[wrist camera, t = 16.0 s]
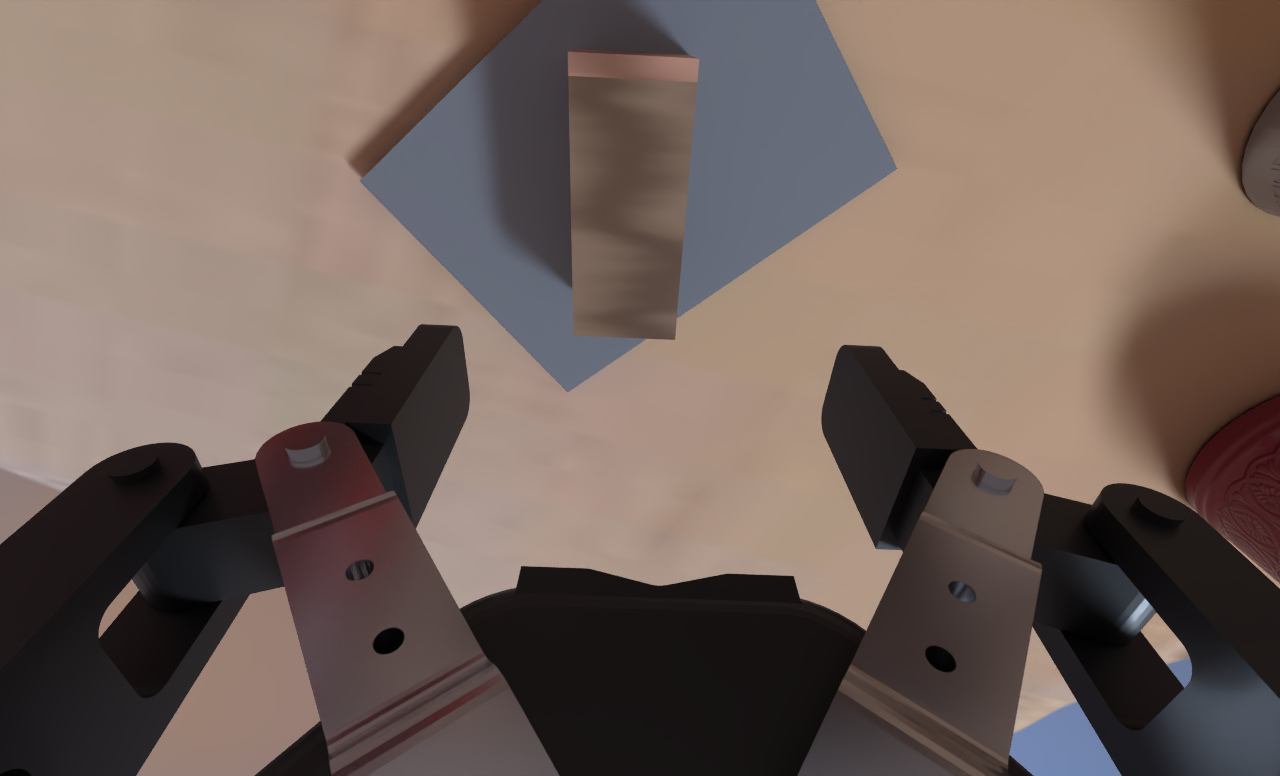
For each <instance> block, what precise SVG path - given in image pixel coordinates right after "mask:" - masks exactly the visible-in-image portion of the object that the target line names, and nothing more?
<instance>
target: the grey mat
mask: <svg viewBox="0 0 1280 776" xmlns="http://www.w3.org/2000/svg"><path fill="white" fill-rule="evenodd" d="M578 49H586V50H605V51H623V52H642V53H661V54H680V55H691V56H693V57H696V58H699V69H698V81H697V92H696V103H695V115H694V126H693V138H692V149H691V160H690V172H689V183H688V194H687V206H686V217H685V228H684V240H683V251H682V263H681V274H680V285H679V297H678V308H677V318H678V317H679V316H681V315H682V314H684V313H685V312H687V311H688V310H690V309H691V308H693V307H694V306H696V305H697V304H699V303H700V302H702V301H703V300H704V299H706V298H707V297H709V296H710V295H712V294H713V293H715V292H716V291H718V290H719V289H721V288H722V287H724V286H725V285H727V284H728V283H730V282H731V281H732V280H734V279H735V278H737V277H738V276H740V275H741V274H743V273H744V272H746V271H747V270H749V269H750V268H752V267H753V266H755V265H756V264H758V263H759V262H760V261H762V260H763V259H765V258H766V257H768V256H769V255H771V254H772V253H774V252H775V251H777V250H778V249H780V248H781V247H783V246H784V245H786V244H787V243H788V242H790V241H791V240H793V239H794V238H796V237H797V236H799V235H800V234H802V233H803V232H805V231H806V230H808V229H809V228H811V227H812V226H814V225H815V224H817V223H818V222H819V221H821V220H822V219H824V218H825V217H827V216H828V215H830V214H831V213H833V212H834V211H836V210H837V209H839V208H840V207H842V206H843V205H845V204H846V203H847V202H849V201H850V200H852V199H853V198H855V197H856V196H858V195H859V194H861V193H862V192H864V191H865V190H867V189H868V188H870V187H871V186H873V185H874V184H875V183H877V182H878V181H880V180H881V179H883V178H884V177H886V176H887V175H889V174H890V173H892V172H893V171H895V170H896V169H897V167H896V165H895V163H894V161H893V159H892V157H891V155H890V153H889V151H888V149H887V147H886V145H885V143H884V141H883V138H882V136H881V134H880V132H879V130H878V128H877V126H876V124H875V122H874V120H873V118H872V116H871V114H870V112H869V110H868V108H867V106H866V104H865V102H864V99H863V97H862V95H861V93H860V91H859V89H858V87H857V85H856V83H855V81H854V79H853V77H852V75H851V73H850V71H849V69H848V67H847V65H846V63H845V60H844V58H843V56H842V54H841V52H840V50H839V48H838V46H837V44H836V42H835V40H834V38H833V36H832V34H831V32H830V30H829V28H828V26H827V24H826V21H825V19H824V17H823V15H822V13H821V11H820V9H819V7H818V5H817V3H816V1H815V0H542V1H541V2H540V3H539V4H538V5H537V6H536V7H535V8H534V9H533V10H532V11H531V12H530V13H529V14H528V15H527V16H526V17H525V18H524V19H523V20H521V21H520V22H519V23H518V24H517V25H516V26H515V27H514V28H513V29H512V30H511V31H510V32H509V33H508V34H507V35H506V36H505V37H504V38H503V39H502V40H501V41H500V42H499V43H498V44H497V45H496V46H495V47H494V48H493V49H492V50H491V51H490V52H489V53H488V54H487V55H486V56H485V57H484V58H483V59H482V60H481V61H480V62H479V63H478V64H477V65H476V66H475V67H474V68H473V69H472V70H471V71H470V72H469V73H468V74H467V75H466V76H465V77H464V78H463V79H462V80H461V81H460V82H459V83H458V84H457V85H456V86H455V87H454V88H453V89H452V90H451V91H450V92H449V93H448V94H447V95H446V96H445V97H444V98H443V99H442V100H441V101H440V102H439V103H438V104H437V105H436V106H435V107H434V108H433V109H432V110H431V111H430V112H429V113H428V114H427V115H426V116H425V117H424V118H423V119H422V120H421V121H420V122H419V123H418V124H417V125H416V126H415V127H414V128H413V129H412V130H411V131H410V132H409V133H408V134H407V135H406V136H405V137H404V138H403V139H402V140H401V141H400V142H399V143H398V144H397V145H396V146H395V147H393V148H392V149H391V150H390V151H389V152H388V153H387V154H386V155H385V156H384V157H383V158H382V159H381V160H380V161H379V162H378V163H377V164H376V165H375V166H374V167H373V168H372V169H371V170H370V171H369V172H368V173H367V174H366V175H365V176H364V177H363V178H362V179H361V180H360V182H361V183H362V184H363V185H364V186H365V187H366V188H367V189H368V190H369V191H370V192H371V193H372V194H373V195H374V196H375V197H376V198H377V199H378V200H379V201H380V202H381V203H382V204H383V205H384V206H385V207H386V208H387V209H388V210H389V211H390V212H391V213H392V214H393V215H394V216H395V217H396V219H397V220H398V221H399V222H400V223H401V224H402V225H403V226H404V227H405V228H406V229H407V230H408V231H409V232H410V233H411V234H412V235H413V236H414V237H415V238H416V239H417V240H418V241H419V242H420V243H421V244H422V245H423V246H424V247H425V248H426V249H427V250H428V251H429V252H430V253H431V254H432V255H433V256H434V257H435V258H436V259H437V260H438V261H439V262H440V263H441V264H442V265H443V266H444V267H445V268H446V269H447V270H448V271H449V272H450V273H451V274H452V275H453V276H454V277H455V278H456V279H457V280H458V281H459V282H460V283H461V284H462V285H463V286H464V288H465V289H466V290H467V291H468V292H469V293H470V294H471V295H472V296H473V297H474V298H475V299H476V300H477V301H478V302H479V303H480V304H481V305H482V306H483V307H484V308H485V309H486V310H487V311H488V312H489V313H490V314H491V315H492V316H493V317H494V318H495V319H496V320H497V321H498V322H499V323H500V324H501V325H502V326H503V327H504V328H505V329H506V330H507V331H508V332H509V333H510V334H511V335H512V336H513V337H514V338H515V339H516V340H517V341H518V342H519V343H520V344H521V345H522V346H523V347H524V348H525V349H526V350H527V351H528V352H529V353H530V354H531V355H532V357H533V358H534V359H535V360H536V361H537V362H538V363H539V364H540V365H541V366H542V367H543V368H544V369H545V370H546V371H547V372H548V373H549V374H550V375H551V376H552V377H553V378H554V379H555V380H556V381H557V382H558V383H559V384H560V385H561V386H562V387H563V388H564V389H565V390H566V391H567V392H569V391H570V390H572V389H573V388H575V387H576V386H578V385H579V384H581V383H582V382H584V381H585V380H587V379H588V378H589V377H591V376H592V375H594V374H595V373H597V372H598V371H600V370H601V369H603V368H604V367H606V366H607V365H609V364H610V363H612V362H613V361H615V360H616V359H617V358H619V357H620V356H622V355H623V354H625V353H626V352H628V351H629V350H631V349H632V348H634V347H635V346H637V345H638V344H640V343H641V342H643V341H644V340H645V339H644V338H618V337H592V336H573V290H572V239H571V189H570V138H569V87H568V51H573V50H578Z"/></svg>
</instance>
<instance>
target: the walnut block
mask: <svg viewBox="0 0 1280 776" xmlns="http://www.w3.org/2000/svg"><path fill="white" fill-rule="evenodd" d="M698 69H699V58H696V57H693V56H691V55H680V54H661V53H642V52H623V51H605V50H586V49H578V50H573V51H568V87H569V138H570V189H571V239H572V290H573V336H592V337H618V338H644V339H670V340H675V331H676V319H677V308H678V297H679V285H680V274H681V263H682V251H683V240H684V228H685V217H686V206H687V194H688V183H689V172H690V160H691V149H692V138H693V126H694V115H695V103H696V92H697V81H698Z"/></svg>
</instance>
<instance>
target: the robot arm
mask: <svg viewBox="0 0 1280 776" xmlns="http://www.w3.org/2000/svg"><path fill="white" fill-rule="evenodd" d="M1242 182H1243V185H1244V188H1245V191H1246V194H1247V196H1248V197H1249V199H1250V200H1251V201H1252V202H1253V203H1254V205H1255V206H1256V207H1258V208H1260V209H1261V210H1263V211H1265V212H1267V213H1268V214H1272V215H1275V216H1279V217H1280V90H1279V92H1278V93H1277V94H1276V95H1275V96H1274V98H1273V99H1272V100H1271V101H1270V103H1269V104H1268V105H1267V107H1266V109H1265V110H1264V112H1263V113H1262V115H1261V117H1260V118H1259V120H1258V122H1257V123H1256V125H1255V127H1254V129H1253V132H1252V134H1251V136H1250V139H1249V141H1248V143H1247V146H1246V150H1245V154H1244V159H1243V164H1242ZM469 402H470V391H469V383H468V375H467V368H466V360H465V352H464V345H463V338H462V333H461V330H460V328H459V327H458V326H448V325H426V324H421V325H419V326H418V327H417V329H416V330H415V331H414V333H413V334H412V335H411V336H410V338H409V339H408V340H407V342H406V343H405V344H404V346H393V347H392V348H390V349H388V350H386V351H385V352H383V353H381V354H379V355H378V356H376V357H374V358H373V359H372V360H371V362H370V363H369V364H368V365H367V366H366V368H365V369H364V370H363V371H362V375H359V376H358V377H357V378H356V380H355V381H354V382H353V383H352V387H349V388H348V389H347V390H346V392H345V393H344V394H343V395H342V396H341V397H340V399H339V400H338V401H337V402H336V403H335V405H334V406H333V407H332V408H331V409H330V411H329V412H328V413H327V414H326V415H325V417H324V418H323V419H322V420H321V421H320V422H313V423H306V424H302V425H298V426H295V427H292V428H289V429H287V430H285V431H282V432H281V433H279V434H277V435H275V436H274V437H272V438H271V439H269V440H268V441H267V442H265V443H264V444H263V445H262V447H261V448H260V449H259V451H258V452H257V454H256V458H255V459H254V460H248V461H242V462H236V463H229V464H223V465H216V466H210V467H204V468H202V467H201V465H200V463H199V461H198V459H197V456H196V454H195V452H194V451H193V450H192V449H191V448H190V447H188V446H186V445H183V444H178V443H156V444H149V445H144V446H140V447H136V448H132V449H129V450H126V451H123V452H120V453H118V454H116V455H113V456H111V457H109V458H107V459H105V460H103V461H101V462H100V463H98V464H96V465H95V466H93V467H92V468H90V469H89V470H88V471H86V472H85V473H84V474H83V475H82V476H80V477H79V478H78V479H77V480H76V481H75V482H73V483H72V484H71V485H70V486H69V487H67V488H66V489H65V490H64V491H63V492H62V493H60V494H59V495H58V496H57V497H56V498H55V499H53V500H52V501H51V502H50V503H49V504H48V505H46V506H45V507H44V508H43V509H42V510H40V511H39V512H38V513H37V514H36V515H35V516H33V517H32V518H31V519H30V520H29V521H28V522H26V523H25V524H24V525H23V526H22V527H20V528H19V529H18V530H17V531H16V532H15V533H14V534H12V535H11V536H10V537H9V538H7V539H6V540H5V541H4V542H3V543H2V544H1V545H0V776H136V775H137V773H138V772H139V770H140V769H141V767H142V765H143V764H144V762H145V761H146V759H147V757H148V756H149V754H150V753H151V751H152V749H153V748H154V746H155V745H156V743H157V741H158V740H159V738H160V737H161V735H162V733H163V732H164V730H165V729H166V727H167V725H168V724H169V722H170V721H171V719H172V718H173V716H174V714H175V713H176V711H177V709H178V708H179V706H180V705H181V703H182V701H183V700H184V698H185V697H186V695H187V694H188V692H189V690H190V689H191V687H192V686H193V684H194V682H195V681H196V679H197V677H198V676H199V674H200V673H201V671H202V670H203V668H204V666H205V665H206V663H207V662H208V660H209V658H210V657H211V655H212V654H213V652H214V651H215V649H216V647H217V645H218V644H219V643H220V641H221V639H222V638H223V636H224V635H225V633H226V631H227V630H228V628H229V627H230V625H231V623H232V622H233V620H234V619H235V617H236V616H237V614H238V612H239V611H240V609H241V607H242V606H243V604H244V603H245V601H246V600H247V598H248V596H249V595H250V594H252V593H257V592H261V591H266V590H270V589H274V588H279V587H284V586H285V590H286V593H287V597H288V601H289V605H290V608H291V612H292V616H293V619H294V623H295V627H296V631H297V635H298V638H299V642H300V646H301V649H302V653H303V657H304V660H305V664H306V668H307V672H308V675H309V679H310V682H311V686H312V690H313V694H314V697H315V701H316V705H317V709H318V713H319V716H320V720H321V721H320V722H318V723H317V724H316V725H315V726H314V727H312V728H311V729H310V730H309V731H308V732H306V733H305V734H304V735H303V736H302V737H300V738H299V739H298V740H297V741H296V742H295V743H293V744H292V745H291V746H290V747H288V748H287V749H286V750H285V751H284V752H282V753H281V754H280V755H279V756H278V757H276V758H275V759H274V760H273V761H272V762H270V763H269V764H268V765H267V766H266V767H264V768H263V769H262V770H261V771H260V772H258V773H257V774H256V775H255V776H1033V775H1032V774H1031V773H1030V772H1028V771H1027V770H1026V769H1025V768H1024V767H1023V766H1022V765H1020V764H1019V763H1018V762H1017V761H1016V760H1015V759H1014V758H1012V757H1011V756H1010V755H1009V753H1010V747H1011V741H1012V736H1013V731H1014V725H1015V720H1016V714H1017V708H1018V703H1019V697H1020V692H1021V686H1022V680H1023V675H1024V669H1025V663H1026V658H1027V652H1028V647H1029V641H1030V635H1031V630H1032V626H1033V628H1034V630H1035V631H1036V633H1037V635H1038V636H1039V638H1040V640H1041V641H1042V643H1043V645H1044V646H1045V648H1046V650H1047V651H1048V653H1049V655H1050V656H1051V658H1052V660H1053V661H1054V663H1055V665H1056V666H1057V668H1058V670H1059V672H1060V673H1061V675H1062V677H1063V678H1064V680H1065V682H1066V683H1067V685H1068V687H1069V688H1070V690H1071V692H1072V693H1073V695H1074V697H1075V698H1076V700H1077V702H1078V703H1079V705H1080V707H1081V708H1082V710H1083V712H1084V713H1085V715H1086V717H1087V718H1088V720H1089V722H1090V723H1091V725H1092V727H1093V728H1094V730H1095V732H1096V733H1097V735H1098V737H1099V739H1100V740H1101V742H1102V743H1103V745H1104V747H1105V748H1106V750H1107V752H1108V754H1109V755H1110V757H1111V759H1112V760H1113V762H1114V764H1115V765H1116V767H1117V769H1118V770H1119V772H1120V773H1121V775H1122V776H1280V589H1279V588H1278V587H1277V586H1276V585H1275V584H1274V583H1273V582H1272V581H1271V580H1270V579H1269V578H1267V577H1266V576H1265V575H1264V574H1263V573H1262V572H1261V571H1260V570H1259V569H1258V568H1257V567H1256V566H1254V565H1253V564H1252V563H1251V562H1250V561H1249V560H1248V559H1247V558H1246V557H1245V556H1244V555H1242V554H1241V553H1240V552H1239V551H1238V550H1237V549H1236V548H1235V547H1234V546H1233V545H1232V544H1230V543H1229V542H1228V541H1227V540H1226V539H1225V538H1224V537H1223V536H1222V535H1221V534H1220V533H1219V532H1217V531H1216V530H1215V529H1214V528H1213V527H1212V526H1211V525H1210V524H1209V523H1208V522H1207V521H1205V520H1204V519H1203V518H1202V517H1201V516H1200V515H1199V514H1197V513H1196V512H1195V511H1193V510H1192V509H1190V508H1189V507H1187V506H1186V505H1184V504H1182V503H1181V502H1179V501H1177V500H1175V499H1173V498H1171V497H1169V496H1167V495H1165V494H1162V493H1160V492H1157V491H1155V490H1152V489H1149V488H1145V487H1142V486H1137V485H1133V484H1124V483H1117V484H1111V485H1108V486H1106V487H1104V488H1103V490H1102V491H1101V493H1100V494H1099V496H1098V497H1097V499H1096V500H1095V502H1094V503H1093V505H1090V504H1086V503H1082V502H1078V501H1074V500H1069V499H1065V498H1061V497H1057V496H1053V495H1049V494H1045V493H1044V489H1043V486H1042V484H1041V483H1040V481H1039V480H1038V479H1037V477H1036V476H1035V475H1034V474H1033V473H1031V472H1030V471H1029V470H1028V469H1026V468H1025V467H1024V466H1022V465H1020V464H1019V463H1017V462H1015V461H1013V460H1011V459H1009V458H1007V457H1005V456H1002V455H1000V454H997V453H994V452H990V451H985V450H979V449H977V448H976V447H975V446H974V444H973V443H972V442H971V441H970V439H969V438H968V437H967V436H966V435H965V433H964V432H963V431H962V430H961V428H960V427H959V426H958V425H957V423H956V422H955V421H954V420H953V419H952V417H951V416H950V415H949V414H946V410H945V409H944V408H943V406H942V405H941V404H940V403H939V402H936V398H935V396H934V395H933V394H932V393H931V392H930V390H929V389H928V388H927V387H926V385H925V384H924V383H922V382H921V381H919V380H918V379H916V378H915V377H913V376H912V375H910V374H909V373H907V372H906V371H904V370H899V369H898V368H897V367H896V365H895V364H894V363H893V361H892V360H891V359H890V358H889V356H888V355H887V354H886V352H885V351H884V350H883V349H882V348H881V347H878V346H857V345H843V346H842V347H841V348H840V349H839V351H838V353H837V356H836V360H835V363H834V367H833V371H832V374H831V378H830V382H829V385H828V389H827V393H826V396H825V400H824V404H823V408H822V419H821V420H822V430H823V434H824V436H825V439H826V441H827V443H828V445H829V447H830V449H831V452H832V454H833V456H834V458H835V460H836V463H837V465H838V467H839V469H840V471H841V473H842V476H843V478H844V480H845V482H846V484H847V487H848V489H849V491H850V493H851V495H852V498H853V500H854V502H855V504H856V506H857V508H858V511H859V513H860V515H861V517H862V519H863V522H864V524H865V526H866V528H867V530H868V532H869V535H870V537H871V539H872V541H873V543H874V546H875V548H876V549H890V550H902V551H903V554H902V556H901V558H900V560H899V563H898V565H897V567H896V569H895V571H894V573H893V575H892V577H891V580H890V582H889V584H888V586H887V588H886V590H885V592H884V594H883V597H882V599H881V601H880V603H879V605H878V607H877V609H876V611H875V614H874V616H873V618H872V620H871V622H870V624H869V626H868V628H867V631H865V630H864V629H863V628H861V627H860V626H858V625H857V624H856V623H854V622H852V621H851V620H849V619H847V618H846V617H844V616H842V615H841V614H839V613H837V612H834V611H832V610H830V609H828V608H826V607H824V606H821V605H818V604H816V603H813V602H810V601H807V600H803V599H800V597H799V594H798V590H797V587H796V583H795V580H794V576H776V575H748V574H723V575H718V576H713V577H707V578H702V579H697V580H692V581H686V582H681V583H676V584H670V585H664V586H655V585H650V584H646V583H642V582H639V581H635V580H631V579H627V578H623V577H619V576H615V575H611V574H607V573H604V572H600V571H596V570H592V569H583V568H555V567H528V566H521V570H520V575H519V579H518V583H517V588H514V589H509V590H505V591H501V592H498V593H494V594H491V595H488V596H486V597H483V598H481V599H478V600H476V601H474V602H472V603H470V604H468V605H466V606H464V607H462V608H460V609H459V607H458V606H457V604H456V602H455V600H454V598H453V596H452V595H451V593H450V591H449V589H448V587H447V586H446V584H445V582H444V580H443V578H442V576H441V575H440V573H439V571H438V569H437V567H436V565H435V564H434V562H433V560H432V558H431V556H430V555H429V553H428V551H427V549H426V547H425V545H424V544H423V542H422V540H421V538H420V536H419V534H418V533H417V531H416V527H417V525H418V523H419V521H420V519H421V516H422V514H423V512H424V510H425V508H426V505H427V503H428V501H429V499H430V497H431V495H432V492H433V490H434V488H435V486H436V484H437V482H438V479H439V477H440V475H441V473H442V471H443V468H444V466H445V464H446V462H447V460H448V458H449V455H450V453H451V451H452V449H453V447H454V444H455V442H456V440H457V438H458V436H459V434H460V431H461V429H462V427H463V425H464V423H465V420H466V418H467V415H468V410H469ZM131 579H132V580H133V581H134V583H135V584H136V586H137V588H138V589H139V591H138V592H137V594H136V595H135V596H134V597H133V599H132V600H131V601H130V602H129V603H128V604H127V606H126V607H125V608H124V609H123V611H122V612H121V613H120V614H119V615H118V617H117V618H116V619H115V620H114V621H113V622H112V624H111V625H110V626H109V627H108V629H107V630H106V631H105V632H104V633H103V635H102V636H101V637H100V638H99V637H98V632H99V625H100V622H101V619H102V617H103V615H104V613H105V611H106V609H107V608H108V606H109V605H110V604H111V602H112V601H113V600H114V599H115V598H116V596H117V595H118V594H119V593H120V592H121V591H122V590H123V588H124V587H125V586H126V585H127V584H128V583H129V582H130V580H131ZM1156 612H1157V613H1158V615H1159V616H1160V617H1161V618H1162V619H1163V621H1164V622H1165V623H1166V624H1167V625H1168V627H1169V628H1170V629H1171V630H1172V631H1173V633H1174V634H1175V635H1176V636H1177V638H1178V639H1179V640H1180V641H1181V642H1182V644H1183V645H1184V646H1185V648H1186V650H1187V652H1188V654H1189V656H1190V659H1191V663H1192V677H1191V680H1190V682H1189V684H1188V685H1187V686H1186V687H1185V688H1184V687H1183V686H1182V684H1181V683H1180V682H1179V680H1178V679H1177V678H1176V677H1175V675H1174V674H1173V673H1172V671H1171V670H1170V669H1169V668H1168V666H1167V665H1166V664H1165V662H1164V661H1163V660H1162V658H1161V657H1160V656H1159V655H1158V653H1157V652H1156V651H1155V649H1154V648H1153V647H1152V646H1151V644H1150V643H1149V642H1148V640H1147V639H1146V638H1145V637H1144V635H1143V634H1142V633H1141V629H1142V628H1143V627H1144V626H1145V625H1146V624H1147V622H1148V621H1149V620H1150V619H1151V618H1152V617H1153V615H1154V614H1155V613H1156Z"/></svg>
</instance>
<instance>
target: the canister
mask: <svg viewBox="0 0 1280 776" xmlns="http://www.w3.org/2000/svg"><path fill="white" fill-rule="evenodd" d="M1185 493H1186V497H1187V500H1188V502H1189V504H1190V505H1191V506H1192V507H1193V509H1194V510H1195V511H1196V512H1197V514H1199V515H1200V516H1201V517H1202V518H1203V519H1204V520H1205V521H1207V522H1208V523H1209V524H1210V525H1211V526H1212V527H1213V528H1214V529H1215V530H1216V531H1217V532H1219V533H1220V534H1221V535H1222V536H1223V537H1224V538H1225V539H1226V540H1228V541H1230V542H1231V543H1233V544H1234V545H1235V546H1236V547H1237V548H1238V549H1240V550H1241V551H1242V552H1243V553H1244V554H1246V555H1247V556H1248V557H1249V558H1250V559H1251V560H1253V561H1254V562H1255V563H1256V564H1257V565H1259V566H1260V567H1261V568H1262V569H1263V570H1264V571H1266V572H1267V573H1268V574H1269V575H1270V576H1271V577H1273V578H1274V579H1275V580H1276V581H1277V582H1279V583H1280V396H1278V397H1275V398H1273V399H1271V400H1269V401H1266V402H1264V403H1262V404H1260V405H1259V406H1257V407H1255V408H1253V409H1251V410H1249V411H1248V412H1246V413H1244V414H1243V415H1241V416H1240V417H1238V418H1237V419H1235V420H1234V421H1232V422H1231V423H1230V424H1228V425H1227V426H1226V427H1225V428H1223V429H1222V430H1221V431H1220V432H1219V433H1217V434H1216V435H1215V436H1214V437H1213V438H1212V439H1211V440H1210V441H1209V442H1208V443H1207V444H1206V446H1205V447H1204V448H1203V449H1202V450H1201V452H1200V453H1199V454H1198V456H1197V457H1196V458H1195V460H1194V462H1193V464H1192V466H1191V468H1190V470H1189V472H1188V475H1187V478H1186V483H1185Z"/></svg>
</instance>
